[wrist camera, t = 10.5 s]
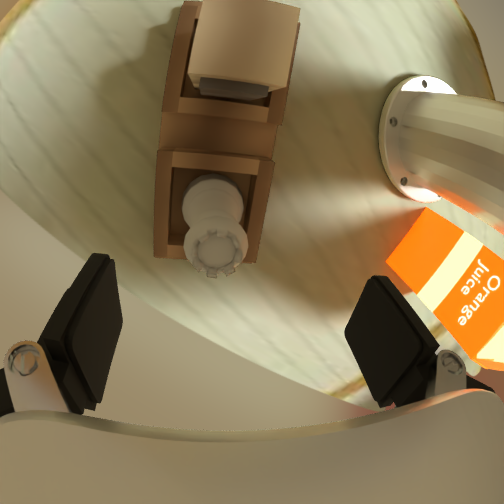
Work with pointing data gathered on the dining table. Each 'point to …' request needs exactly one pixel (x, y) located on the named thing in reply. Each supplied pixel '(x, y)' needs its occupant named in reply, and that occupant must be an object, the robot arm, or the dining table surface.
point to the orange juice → (456, 284)
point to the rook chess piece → (214, 224)
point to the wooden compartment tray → (223, 109)
